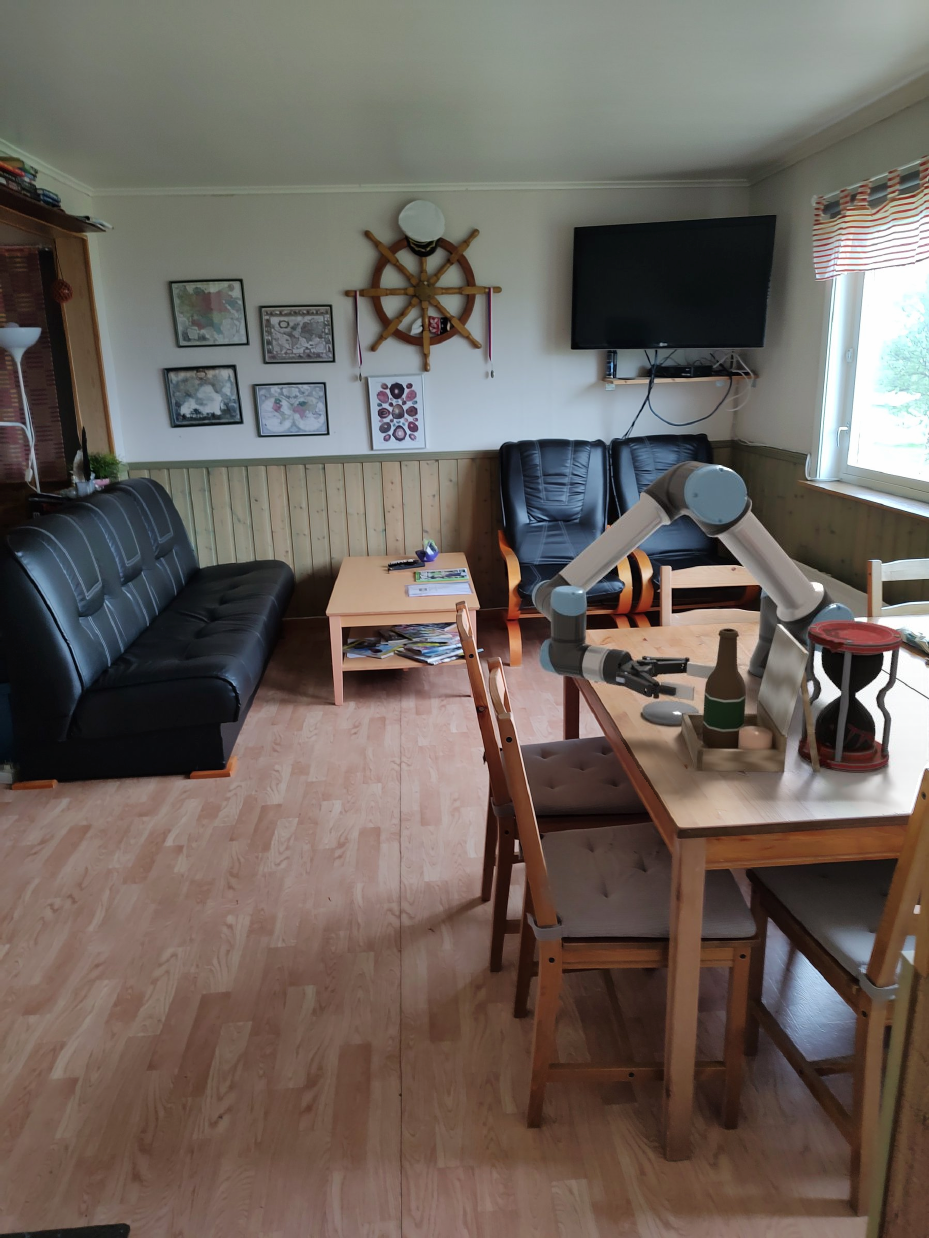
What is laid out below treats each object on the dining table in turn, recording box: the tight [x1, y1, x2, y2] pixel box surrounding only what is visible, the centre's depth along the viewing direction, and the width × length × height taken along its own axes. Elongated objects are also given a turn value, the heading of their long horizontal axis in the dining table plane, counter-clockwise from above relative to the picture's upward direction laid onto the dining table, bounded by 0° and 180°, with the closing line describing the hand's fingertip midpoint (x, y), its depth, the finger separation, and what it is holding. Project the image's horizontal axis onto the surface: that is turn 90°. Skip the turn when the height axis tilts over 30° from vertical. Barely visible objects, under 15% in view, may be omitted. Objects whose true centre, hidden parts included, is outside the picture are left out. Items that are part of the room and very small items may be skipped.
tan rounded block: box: [738, 726, 773, 749], centre depth 163 cm, size 6×6×6 cm
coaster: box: [642, 700, 700, 726], centre depth 187 cm, size 12×12×1 cm
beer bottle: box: [702, 628, 747, 749], centre depth 168 cm, size 8×8×24 cm
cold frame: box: [680, 624, 821, 773], centre depth 165 cm, size 23×19×24 cm
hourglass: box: [797, 620, 903, 773], centre depth 162 cm, size 16×16×25 cm
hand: (706, 683), depth 169 cm, fingers open, 13 cm apart
